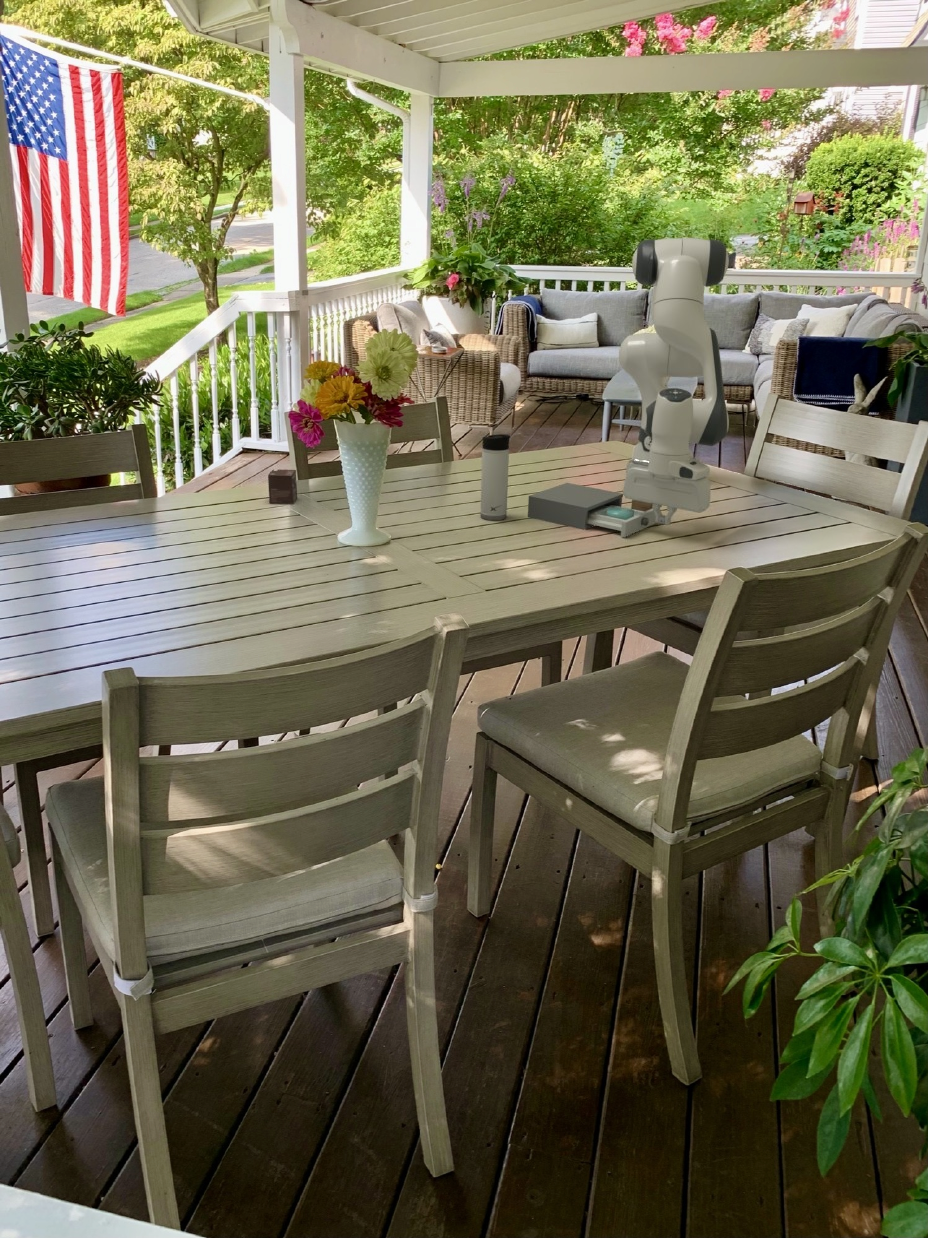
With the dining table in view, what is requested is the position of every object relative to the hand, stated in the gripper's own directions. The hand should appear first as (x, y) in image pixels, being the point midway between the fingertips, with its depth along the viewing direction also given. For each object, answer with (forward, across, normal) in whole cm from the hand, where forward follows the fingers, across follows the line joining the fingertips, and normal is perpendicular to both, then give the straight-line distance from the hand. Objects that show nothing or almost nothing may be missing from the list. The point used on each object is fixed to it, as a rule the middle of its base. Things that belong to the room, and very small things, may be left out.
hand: (662, 523), depth 231 cm
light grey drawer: (+2, -12, 0) cm, 13 cm away
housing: (+2, -23, 0) cm, 23 cm away
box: (+3, -85, -37) cm, 93 cm away
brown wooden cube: (+2, -10, +11) cm, 15 cm away
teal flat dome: (+1, -11, 0) cm, 11 cm away
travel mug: (+3, -37, -14) cm, 40 cm away
